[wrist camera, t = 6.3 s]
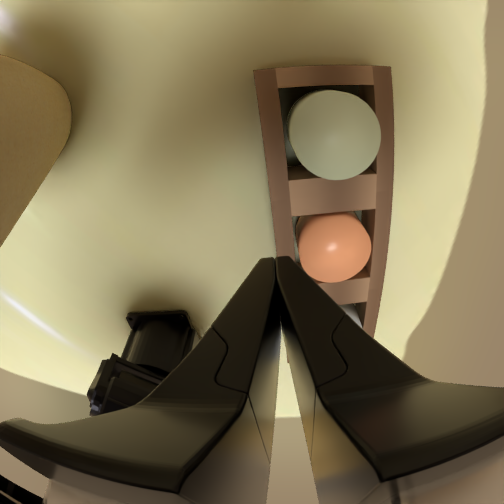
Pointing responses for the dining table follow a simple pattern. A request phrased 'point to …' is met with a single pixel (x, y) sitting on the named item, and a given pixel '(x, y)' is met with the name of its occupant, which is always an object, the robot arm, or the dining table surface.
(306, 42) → the dining table surface
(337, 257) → the terracotta button
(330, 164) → the sage button
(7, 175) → the plant pot
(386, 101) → the brown wooden flat tray
